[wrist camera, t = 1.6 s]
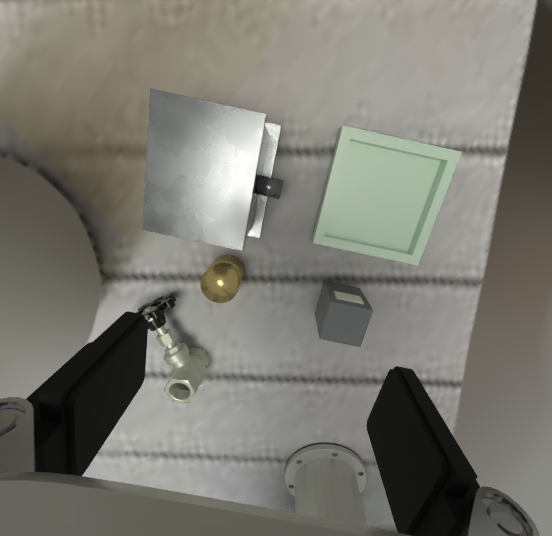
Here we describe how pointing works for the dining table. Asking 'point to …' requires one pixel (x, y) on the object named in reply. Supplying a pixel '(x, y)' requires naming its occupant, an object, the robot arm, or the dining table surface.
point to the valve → (176, 353)
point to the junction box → (208, 170)
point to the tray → (383, 195)
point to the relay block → (342, 314)
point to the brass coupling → (223, 279)
